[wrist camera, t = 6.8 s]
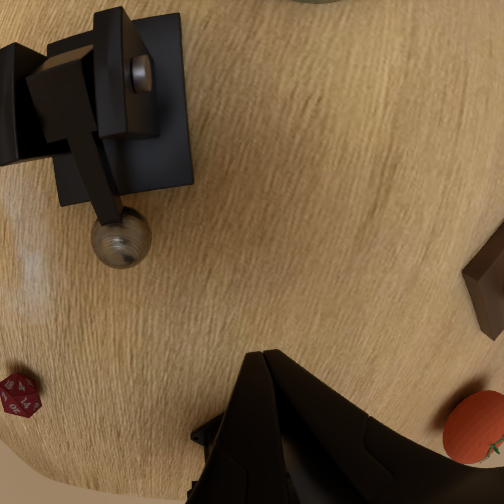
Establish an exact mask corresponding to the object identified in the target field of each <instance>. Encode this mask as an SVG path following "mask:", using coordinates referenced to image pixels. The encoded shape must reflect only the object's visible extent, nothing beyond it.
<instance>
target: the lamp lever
mask: <svg viewBox="0 0 504 504" xmlns="http://www.w3.org/2000/svg"><path fill="white" fill-rule="evenodd" d="M25 80H26V83H27V87H28V90H29V93H30V97H31V100H32V103H33V106H34V109H35V112H36V115H37V118H38V121H39V124H40V127H41V130H42V132H43V135H44V138H45V141H46V143H51V142H55V141H58V140H62V139H65V138H67V140H68V143H69V146H70V149H71V152H72V154H73V157H74V160H75V163H76V165H77V168H78V171H79V173H80V176H81V178H82V181H83V184H84V186H85V189H86V191H87V194H88V196H89V198H90V201H91V203H92V206H93V208H94V210H95V213H96V215H97V217H98V218H97V219H96V221H95V223H94V225H93V228H92V231H91V244H92V248H93V251H94V253H95V254H96V256H97V258H98V259H99V260H100V261H101V262H102V263H104V264H105V265H107V266H109V267H111V268H115V269H127V268H131V267H133V266H135V265H137V264H139V263H140V262H141V261H142V260H143V259H144V258H145V256H146V255H147V253H148V251H149V249H150V246H151V241H152V233H151V228H150V225H149V223H148V221H147V219H146V218H145V217H144V215H143V214H141V213H140V212H139V211H138V210H136V209H134V208H132V207H128V206H123V203H122V201H121V198H120V195H119V192H118V189H117V186H116V183H115V180H114V177H113V174H112V170H111V167H110V164H109V161H108V158H107V154H106V151H105V148H104V144H103V141H102V139H100V138H99V137H98V130H97V120H96V107H95V92H94V70H93V44H92V45H89V46H85V47H82V48H79V49H75V50H72V51H69V52H66V53H63V54H60V55H57V56H54V57H51V58H49V59H48V60H47V61H45V62H44V63H43V64H41V65H40V66H39V67H38V68H37V69H35V70H34V71H33V72H32V73H30V74H29V75H28V76H27V77H26V78H25Z"/></svg>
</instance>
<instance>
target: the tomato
mask: <svg viewBox="0 0 504 504" xmlns="http://www.w3.org/2000/svg"><path fill="white" fill-rule="evenodd" d="M503 441H504V395H502V394H501V393H498V392H496V391H490V390H487V391H480V392H477V393H474V394H472V395H470V396H468V397H467V398H465V399H464V400H463V401H461V402H460V403H459V404H458V405H457V406H456V407H455V408H454V410H453V411H452V412H451V414H450V415H449V417H448V419H447V421H446V423H445V426H444V430H443V446H444V449H445V451H446V453H447V455H448V456H449V457H450V458H451V459H452V460H454V461H456V462H458V463H461V464H473V463H477V462H480V461H482V460H483V459H485V458H486V457H489V456H490V454H491V453H493V452H494V451H495V452H496V453H498V454H500V453H499V451H498V447H499V446H500V445H501V444H502V443H503ZM483 461H484V460H483Z"/></svg>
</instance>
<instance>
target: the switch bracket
mask: <svg viewBox="0 0 504 504" xmlns="http://www.w3.org/2000/svg"><path fill="white" fill-rule="evenodd" d="M92 44H93V70H94V92H95V107H96V120H97V130H98V137H99V138H100V139H102V141H103V144H104V148H105V151H106V154H107V158H108V161H109V164H110V167H111V170H112V174H113V177H114V180H115V183H116V186H117V189H118V192H119V195H120V196H121V195H127V194H133V193H139V192H145V191H151V190H158V189H164V188H171V187H178V186H186V185H193V184H194V172H193V163H192V154H191V144H190V134H189V124H188V113H187V102H186V90H185V77H184V63H183V48H182V31H181V17H180V13H172V14H165V15H159V16H153V17H147V18H142V19H137V20H132V21H131V20H130V19H129V17H128V15H127V13H126V12H125V10H124V8H123V7H122V6H119V7H115V8H111V9H107V10H103V11H99V12H96V13H94V17H93V30H91V31H88V32H84V33H81V34H77V35H74V36H71V37H68V38H65V39H62V40H59V41H56V42H53V43H51V44H48V45H47V57H46V56H44V55H42V54H40V53H38V52H36V51H34V50H32V49H30V48H28V47H25V46H23V45H21V44H19V43H17V42H14V43H12V44H10V45H8V46H6V47H4V48H1V49H0V166H1V167H3V166H7V165H12V164H17V163H22V162H28V161H33V160H39V159H44V158H50V157H52V158H53V165H54V172H55V179H56V185H57V191H58V197H59V202H60V206H61V207H63V206H68V205H73V204H78V203H83V202H88V201H90V198H89V196H88V194H87V191H86V189H85V186H84V184H83V181H82V178H81V176H80V173H79V171H78V168H77V165H76V163H75V160H74V157H73V154H72V152H71V149H70V146H69V143H68V140H67V138H65V139H62V140H58V141H55V142H51V143H46V141H45V138H44V135H43V132H42V130H41V127H40V124H39V121H38V118H37V115H36V112H35V109H34V106H33V103H32V100H31V97H30V93H29V90H28V87H27V83H26V80H25V78H26V77H27V76H28V75H29V74H30V73H32V72H33V71H34V70H35V69H37V68H38V67H39V66H40V65H41V64H43V63H44V62H45V61H47V60H48V59H49V58H51V57H54V56H57V55H60V54H63V53H66V52H69V51H72V50H75V49H79V48H82V47H85V46H89V45H92Z"/></svg>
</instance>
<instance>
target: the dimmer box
mask: <svg viewBox="0 0 504 504" xmlns="http://www.w3.org/2000/svg"><path fill="white" fill-rule="evenodd" d="M462 273H463V276H464V279H465V282H466V284H467V287H468V290H469V293H470V296H471V299H472V302H473V305H474V308H475V311H476V314H477V317H478V320H479V324H480V327H481V331H482V332H483V333H484V334H486V335H487V336H488V337H489V338H490V339H492V340H493V341H494V340H495V339H496V338H497V337H498V336H499V335H500V333H501V332H502V331H503V330H504V222H503V223H502V225H501V226H500V227H499V228H498V230H497V231H496V232H495V233H494V235H493V236H492V237H491V238H490V240H489V241H488V242H487V243H486V245H485V246H484V247H483V248H482V249H481V250H480V252H479V253H478V254H477V255H476V256H475V257H474V259H473V260H472V261H471V262H470V263H469V264H468V265H467V267H466V268H465V269H464V270H463V271H462Z"/></svg>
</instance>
